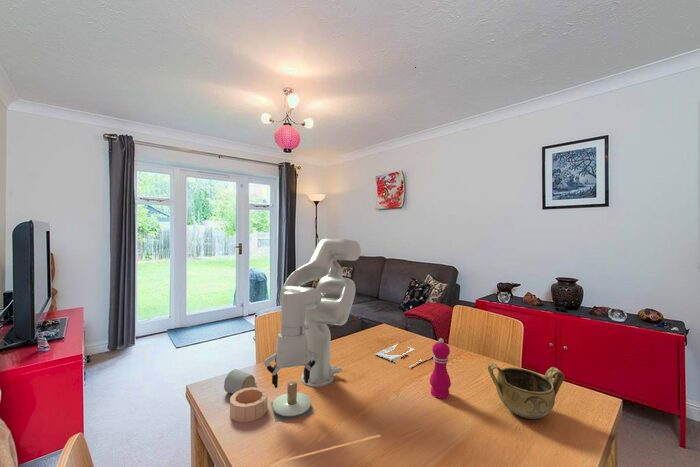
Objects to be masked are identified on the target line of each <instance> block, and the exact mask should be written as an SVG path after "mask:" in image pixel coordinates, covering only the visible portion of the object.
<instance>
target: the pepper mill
mask: <svg viewBox="0 0 700 467" xmlns="http://www.w3.org/2000/svg"><path fill="white" fill-rule="evenodd" d="M444 341H445V340H444V339H443V338H439V339H438V341H437V342H435V343H434V344H433V345H432V349H431V351H432V353H433V355H432V356H433V359H432V360H433V361H434V369H433V370H432V372H431V374H430V376H429V383H430V394H431V396H432V397H434V396H435V397H434V398H436V397H438V398H437V399H439V398H446V399H448V398H449V397H450V388H451V386H452V383H451V377H450V375H449V373H448V369H447V363H448V362H449V357H448V356H450V352H451V351H450V349H451V348H450V346H449V345H448V344H447V343H446V342H444ZM448 396H449V397H448ZM447 397H448V398H447Z"/></svg>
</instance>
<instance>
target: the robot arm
mask: <svg viewBox="0 0 700 467" xmlns="http://www.w3.org/2000/svg"><path fill="white" fill-rule="evenodd" d="M361 250H362V248H361V245H360V243H359V242H358V241H357V240H352V239H347V238H346V239H345V238H330V237H329V238H323V239H321V240H320V241H319V242H318V243H317V245H316V246H315V249H314V251H313V253H312V255H311V257H310V259H309V261H308V263H305V264H304V265H301V266H300V267H299V268H297V269H295V270H294V271H293V272H292V273H290V275H289V276H288V277H287V279H286V280H285V282H284V284H283V285H282V288H281V290H280V292H279V303H280V304H281V306H280V307H281V309H280V310H281V312H280V332H279V333H278V334H277V336H276V343H275V351H274V352H275V353H273V354H272V355H270V356H268V357H266V358H265V359H263V364H264V366H265V367H266V370H267V371H268V372H269V373H270V374H271V384H272V385H274V386H273V387H274V389H278V386H279V385H278V382H279V375H278V372H279V371H280V370H281V369H289V368H296V367H303V366H304V368H303V373H302V374H301V377H300V380H301V383H302V384H303V385H305V386H308V387H312V388H320V387H325V386H328V385H330V384H331V383H333V382H334V379H335V376H334V375H335V374H336V373H337V374H339V373H343V368H342V366H340V367H337V365H331V338H332V337H331V330H330V328H329V326H328V325H332V326H333V325H334V326H343V325H345V324H346V323H347V321H348V319H349V317H350V313H351V310H352V307H353V303H354V300H355V296H356V284H355V281H354V280H353V279H351V278H348V277H343V276H344V271H343V268H342V267H341V265H340V264H339V263H338V262H337V261H350V262H351V261H357V260H359V258H360V256H361ZM316 280H319V281H318V283H317V285H316V288H315V287H309V286H302V285H304V284H306V283H309V282H312V281H316ZM273 361H274V363H275V364H274V365H273V366H272V365H271V364H270V363H271V362H273Z"/></svg>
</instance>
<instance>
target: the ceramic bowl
mask: <svg viewBox="0 0 700 467" xmlns="http://www.w3.org/2000/svg"><path fill="white" fill-rule="evenodd" d="M496 369H497V371H498V372H497V376H495V374H494V372H493V371H494V370H496ZM487 371H488V373H489V376H490V378H491V380H492V382H493V384H494V386H495V388H496V393H497V395H498V398H499V399H500V401H501V402H502V404H503V405H504V406H505V408H507V409H508V410H509V411H510V412H512V413H513V414H515V415H516V416H518V415H519V417H520V418H521V417H522V418H524V417H525V418H524V419H535V420H536V419H541V418H543V417H545V416H547V415H549V414H550V412H552V410H553V408H554V406H555V404H556V396H557V394H558V393H559V390H560V388H561V386H562V384H563V382H564V380H565V375H564V373H563V372H562V371H561V370H560V369H558V368H557V367H554V366H552V367H550V368H548V369H547V370H546V372H545V374H544V375H542V374H540V373H537V372H535V371H533V370H529V369H526V368H520V367H513V366H512V367H511V366H510V367H508V366H507V367H503V368H500V367H499V366H498V364H496V363H494V362H490V363H489V364H487Z"/></svg>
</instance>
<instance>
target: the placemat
mask: <svg viewBox="0 0 700 467" xmlns="http://www.w3.org/2000/svg"><path fill="white" fill-rule="evenodd" d="M273 402H274V401H270V406H271V409H272V414H273V418H274V421H275V423H278V422H283V421H287V420H292V419H296V418H297V419H298V418H301V417H307V416H311V415H315V412H314V410H313V407H312V406H310V408H309V409H308V410H307V411H306V412H304V413H302V414H299V415H296V416H282V415H279V414H277V413H276V412H275V411H274V410H273Z"/></svg>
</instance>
